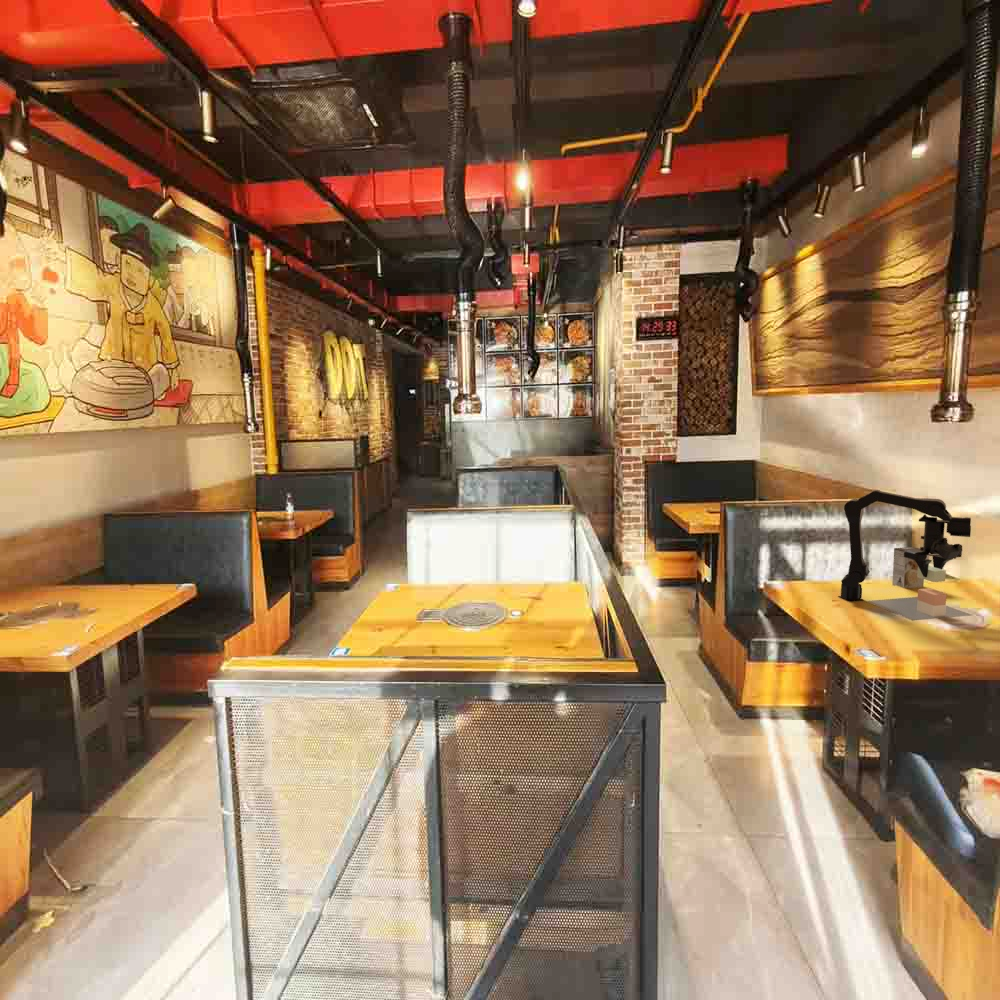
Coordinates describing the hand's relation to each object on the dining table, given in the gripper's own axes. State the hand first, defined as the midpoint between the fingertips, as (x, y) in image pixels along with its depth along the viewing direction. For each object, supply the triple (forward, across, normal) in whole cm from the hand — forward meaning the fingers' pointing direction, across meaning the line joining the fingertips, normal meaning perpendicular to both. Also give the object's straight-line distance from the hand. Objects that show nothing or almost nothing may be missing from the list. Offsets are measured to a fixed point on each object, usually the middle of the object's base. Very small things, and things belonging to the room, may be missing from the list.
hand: (931, 576), depth 211 cm
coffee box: (+13, +18, +28) cm, 36 cm away
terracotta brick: (+9, -2, -3) cm, 9 cm away
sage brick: (+1, 0, 0) cm, 1 cm away
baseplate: (+13, -2, +3) cm, 14 cm away
